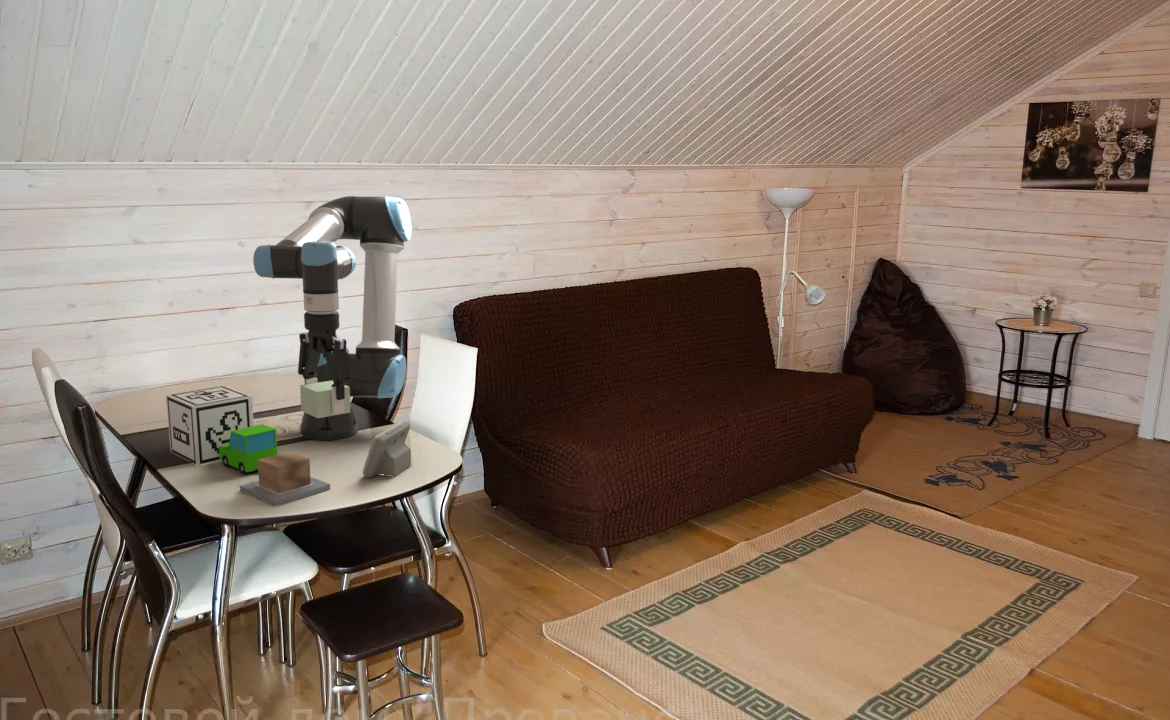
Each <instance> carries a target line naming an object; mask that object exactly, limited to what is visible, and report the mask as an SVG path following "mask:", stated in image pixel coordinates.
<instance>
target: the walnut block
mask: <svg viewBox="0 0 1170 720" xmlns="http://www.w3.org/2000/svg"><path fill="white" fill-rule="evenodd" d="M310 462H311V461H310V458H308V457H306V456H303V455H300V454H297V453H295V452H292V451H286V452H281V453H277V455H273V456H270V457H266V458H262V459H258V470H257V471H258V472H257V473H258V481H259V485H260V486H263V487H265V488H267V489H270V490H272V491H275V492H277V493H283V492H286V491H289V490H293V489H296V488H299V487H303V486H306V485H309V484H311V479H310V477H311V465H310V464H311V463H310Z"/></svg>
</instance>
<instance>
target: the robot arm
mask: <svg viewBox="0 0 1170 720" xmlns="http://www.w3.org/2000/svg"><path fill="white" fill-rule="evenodd" d="M411 238H412V220H411V215H410V211H409V207H408V205H407V203H406V202H405V200H404V199H402V198H400V197H393V196H388V195H387V196H354V195H347V196H343V197H339V198H335V199H332V200H330V201H327V202H325V203H324V204H322V205H319V206H318V207H317V208H315V209H314V210H312V212H311V213H310V214H309V216H308V219H307V220H306V221H305V222H303V223H302V224H301V225H300V226H298V227H297V228H296V229H294V230H293V231H292V232H291V233H289V234H287V236H285V237H284V238H283V239H282V240H280V241H279V242H278V243H276V244H275V245H272V244H266V245H265V244H263V245H259V246H257V247H256V248H255V251H254V253H253V259H252V261H253V268H254V272H255V273H256V274H257V276H258V277H261V278H267V279H268V278H269V279H270V278H271V279H295V280H296V279H302V292H303V310H305V312H304V314H303V320H304V321H303V323H304V329H305V330H307V331H308V332H303V333H299V343H300V344H299V354H298V355H299V357H298V364H297V365H298V367H297V373H298V375H299V376H302V377H303V381H304V385H305V384H312V383H319V382H326V381H333V383H334V384H332V386H331V389H332V414H334V415H333V416H328V417H322V418H316V417H314V416H312V415H309V414H307V413H305V412H303V415H302V419H301V422H300V426H299V428H300V429H299V430H300V432H299V433H300V436H301V435H302V436H301V437H303V438H305V439H308V440H315V441H316V440H317V441H331V440H338V439H345V438H349V437H352V436H354V435H355V434H357V432H358V421H357V419H356V416H355V414H354V411H353V409H352V408H353V407H352V405H351V404H350V413H345V414H339V413H344V398H345V385H346V386H349V387H350V398H351V397H354V398H372V399H373V398H374V399H375V398H377V399H383V398H385V399H386V398H387V399H388V398H389V399H391V398H395V397H398V395H399V394H400V392H401V391H402V390H403V389H402V388H403V386H404V382H405V379H406V374H407V359H406V357H405V356H404V355H403V354H400V352H401V349H400V347H399V346H398V344H397V343H396V342H395V334H396V333H395V332H396V331H395V330H396V309H397V308H396V307H397V285H398V284H397V282H398V280H397V279H398V261H399V260H398V259H399V258H398V257H399V253H401V252H402V251H403V250H404V248H405V242H406V243H407V242H409V241H410V240H411ZM338 240H354V241H356V240H357V241H359V247H360V248H361V249H362V250H363V251H364V255H365V256H364V277H363V285H364V286H363V303H362V304H363V306H362V331H361V335H362V336H361V341H360V342H359V344H357V345H356V346H355V353H349V352H350V350H349V348H348V347H347V340H346V339H345V338H344V339H342V338H341V339H340V338H338V336H337V330H338V329H339V328H340V313H339V312H338V310H339V309H340V302H339V281H338V280H343V279H345V278H347V277H348V276H350V275H351V274H352V273H353V272H354V271H355V269H356V266H357V265H356V263H357V261H356V256H355V254H354V252H353V250H351V249H350V248H348V247H346V246H344V245H336V243H335V242H337V241H338ZM335 414H339V415H335Z"/></svg>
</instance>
